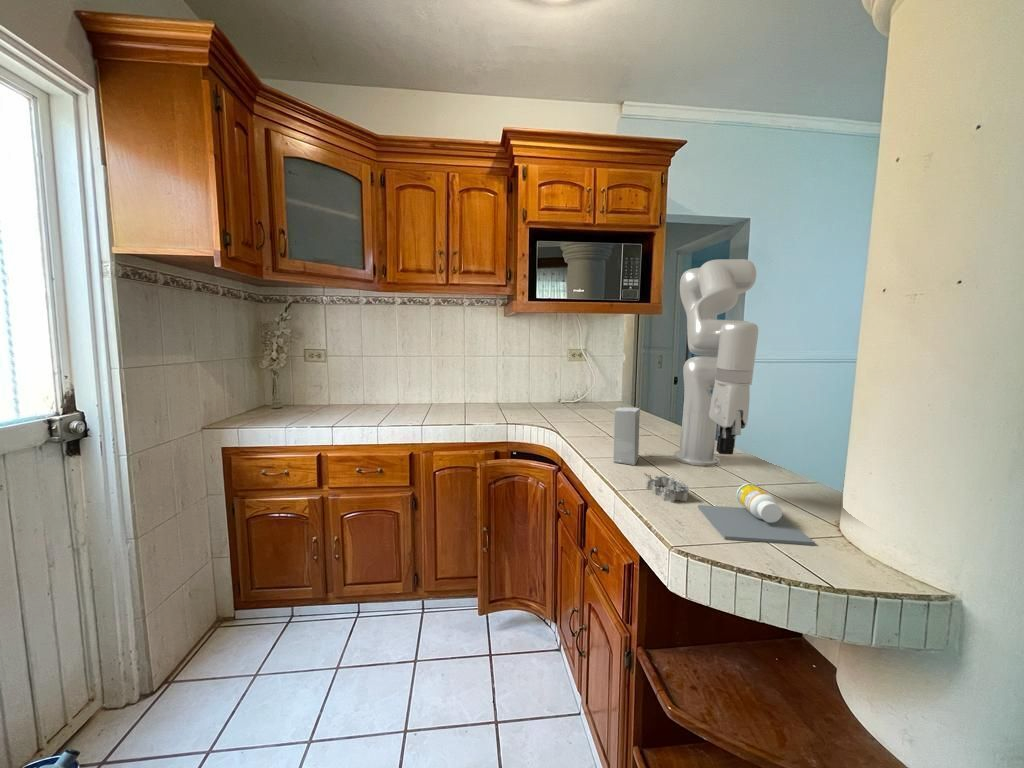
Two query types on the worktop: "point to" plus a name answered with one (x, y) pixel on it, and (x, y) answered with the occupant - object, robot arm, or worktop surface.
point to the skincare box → (626, 435)
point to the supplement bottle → (759, 503)
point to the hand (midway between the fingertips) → (724, 452)
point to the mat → (752, 526)
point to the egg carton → (667, 488)
